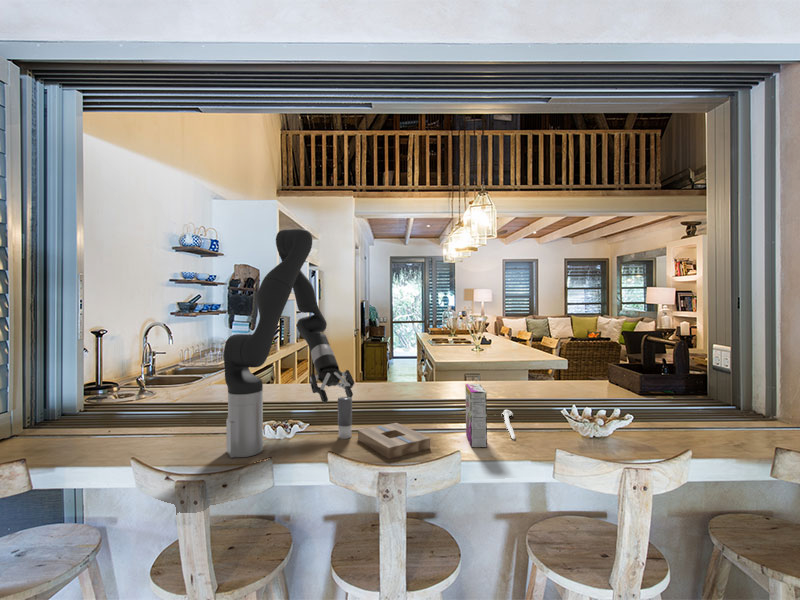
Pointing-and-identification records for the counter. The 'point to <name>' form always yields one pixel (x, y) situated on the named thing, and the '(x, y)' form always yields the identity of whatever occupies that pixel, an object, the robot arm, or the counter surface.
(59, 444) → the counter surface
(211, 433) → the counter surface
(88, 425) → the counter surface
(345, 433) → the grey peg
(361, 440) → the board
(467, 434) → the candy bar box
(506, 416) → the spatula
